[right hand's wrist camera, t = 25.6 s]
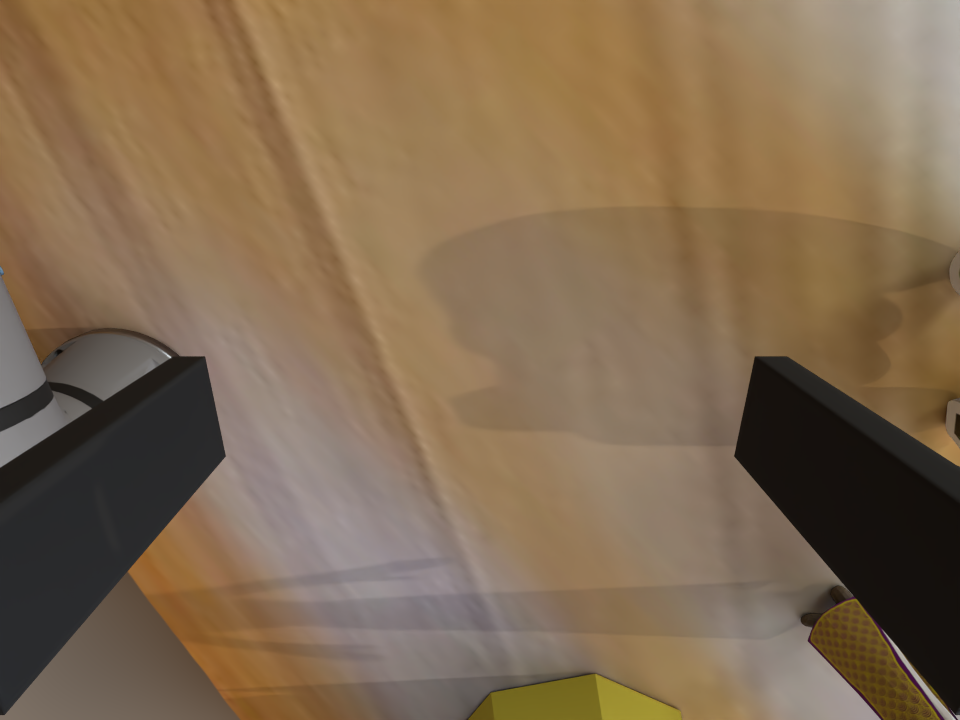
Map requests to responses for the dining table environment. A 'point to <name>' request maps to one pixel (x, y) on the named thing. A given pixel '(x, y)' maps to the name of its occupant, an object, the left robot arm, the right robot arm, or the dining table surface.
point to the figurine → (872, 662)
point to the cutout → (956, 418)
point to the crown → (573, 702)
